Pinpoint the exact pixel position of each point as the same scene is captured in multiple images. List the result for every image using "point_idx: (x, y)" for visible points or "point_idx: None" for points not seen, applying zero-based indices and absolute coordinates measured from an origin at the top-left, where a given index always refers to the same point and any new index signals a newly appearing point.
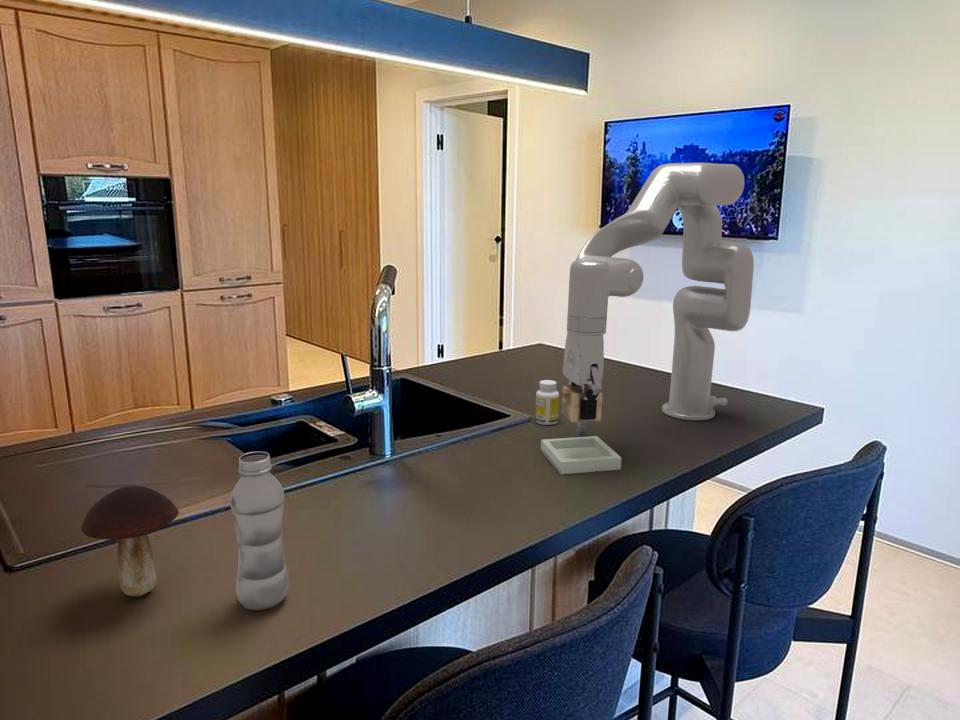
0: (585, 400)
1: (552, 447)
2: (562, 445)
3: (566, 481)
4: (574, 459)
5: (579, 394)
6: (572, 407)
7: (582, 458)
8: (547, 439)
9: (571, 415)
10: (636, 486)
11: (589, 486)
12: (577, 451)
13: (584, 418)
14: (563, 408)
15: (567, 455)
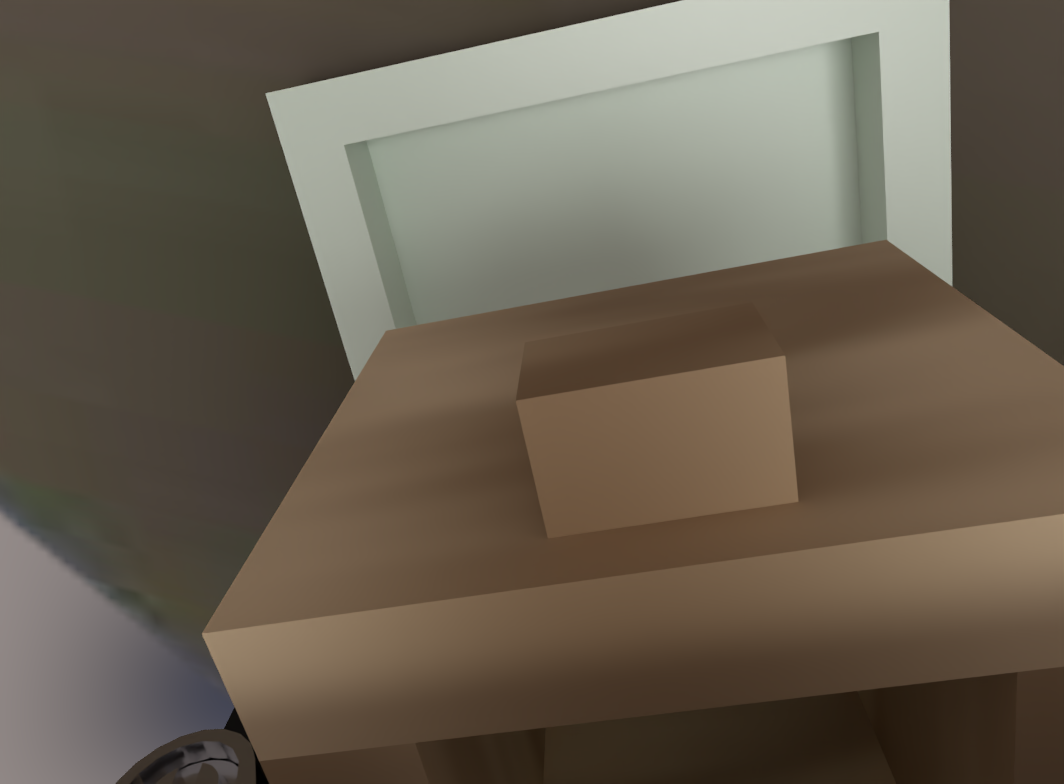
0: (176, 767)
1: (676, 53)
2: (868, 193)
3: (168, 115)
4: (351, 238)
5: (262, 766)
6: (334, 436)
7: (385, 316)
8: (943, 26)
9: (404, 361)
10: (174, 583)
11: (108, 285)
12: None
13: None
14: (827, 286)
15: (659, 208)
